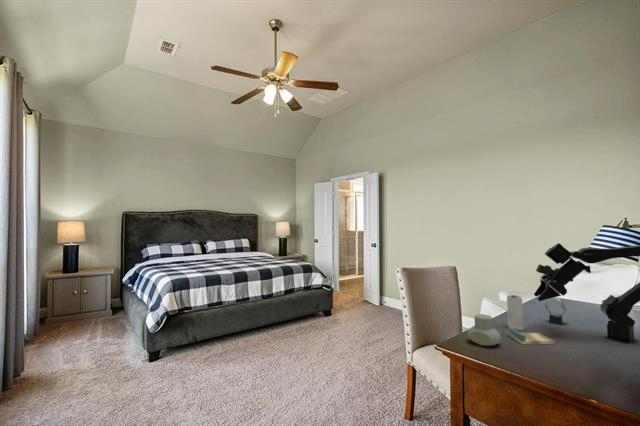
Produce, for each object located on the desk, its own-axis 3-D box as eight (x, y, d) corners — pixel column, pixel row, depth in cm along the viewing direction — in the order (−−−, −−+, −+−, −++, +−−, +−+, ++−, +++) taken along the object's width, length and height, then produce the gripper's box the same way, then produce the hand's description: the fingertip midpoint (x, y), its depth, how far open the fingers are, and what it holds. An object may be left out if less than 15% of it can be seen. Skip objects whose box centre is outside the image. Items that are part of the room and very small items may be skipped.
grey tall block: (521, 326, 133) (520, 295, 133) (523, 330, 128) (521, 297, 129) (508, 325, 135) (506, 294, 136) (509, 328, 131) (507, 296, 131)
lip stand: (538, 335, 122) (538, 327, 122) (555, 344, 113) (554, 335, 113) (507, 335, 122) (507, 327, 123) (521, 343, 113) (521, 335, 114)
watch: (567, 325, 133) (566, 300, 134) (544, 322, 138) (543, 297, 139) (568, 322, 137) (566, 297, 138) (546, 319, 143) (544, 295, 143)
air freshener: (504, 344, 114) (502, 316, 114) (497, 350, 108) (495, 321, 108) (473, 337, 122) (471, 311, 122) (465, 342, 116) (463, 315, 116)
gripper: (544, 256, 136) (517, 280, 140) (554, 260, 119) (522, 287, 124) (568, 274, 132) (539, 298, 136) (581, 281, 115) (547, 308, 120)
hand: (536, 297), depth 129 cm, fingers open, 9 cm apart
